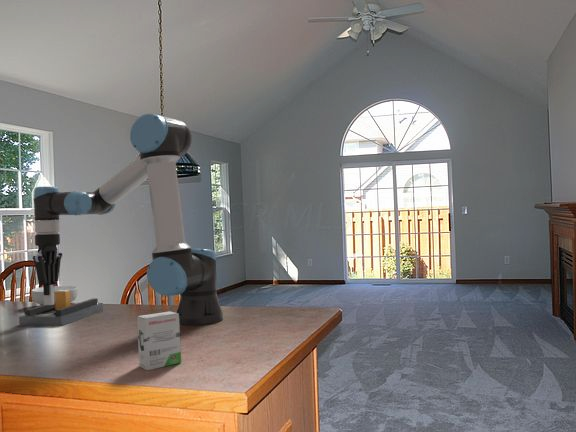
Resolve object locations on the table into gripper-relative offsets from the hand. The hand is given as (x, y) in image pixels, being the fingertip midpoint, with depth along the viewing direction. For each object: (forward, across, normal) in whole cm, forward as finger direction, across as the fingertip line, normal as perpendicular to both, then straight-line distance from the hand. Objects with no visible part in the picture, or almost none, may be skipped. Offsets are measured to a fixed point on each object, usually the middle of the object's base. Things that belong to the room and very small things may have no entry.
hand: (49, 304), depth 182 cm
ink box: (+6, +46, +58) cm, 74 cm away
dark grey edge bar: (+3, -7, -5) cm, 10 cm away
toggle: (+3, -7, 0) cm, 8 cm away
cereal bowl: (+6, -30, -18) cm, 36 cm away
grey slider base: (+6, -7, 0) cm, 9 cm away
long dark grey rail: (+3, -7, +6) cm, 10 cm away
